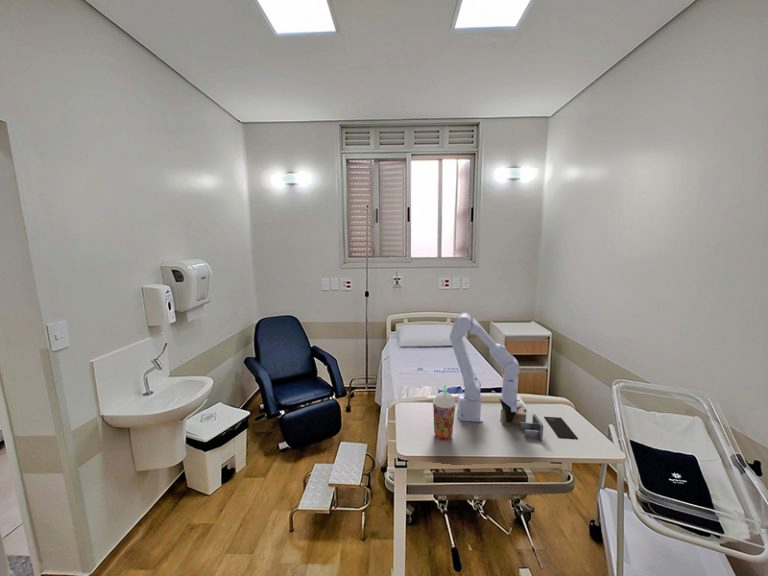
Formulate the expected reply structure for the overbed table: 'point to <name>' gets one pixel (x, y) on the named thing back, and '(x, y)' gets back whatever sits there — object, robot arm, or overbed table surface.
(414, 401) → the overbed table surface
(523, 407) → the baby figurine
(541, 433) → the bracket
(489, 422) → the overbed table surface
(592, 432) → the overbed table surface
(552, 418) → the smartphone
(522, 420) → the brown rectangular block
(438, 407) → the smoothie
